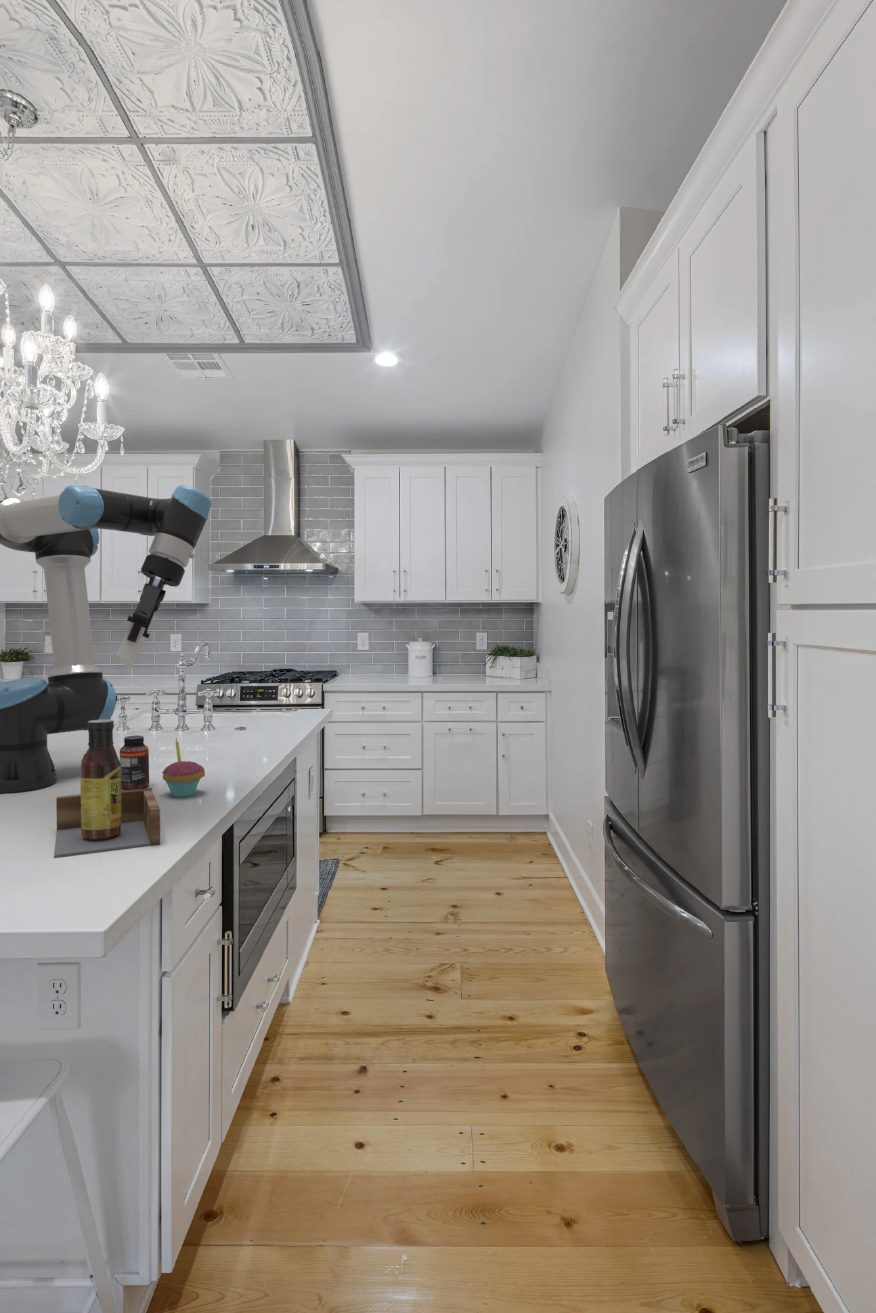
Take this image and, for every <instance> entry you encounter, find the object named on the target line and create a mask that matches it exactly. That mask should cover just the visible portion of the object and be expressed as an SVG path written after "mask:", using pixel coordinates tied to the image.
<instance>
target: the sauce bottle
mask: <svg viewBox="0 0 876 1313" xmlns="http://www.w3.org/2000/svg"><path fill="white" fill-rule="evenodd" d="M114 728H115V724H114V720H113V719H110V720H106V719H103V720H92V721H88V723H87V729H88V730H87V732H88V743H87V745H88V749H86V750H87V751H86V753H84V754H83V757H82V759H81V761H80V762H81V764H80V769H81V770H80V773H81V775H80V794H81V828H82V837H83V838H85V839H87V840H103V839H108V838H112V837H115V836H117V835H118V834H119V833H120V832H121V824H122V818H121V791H122V788H121V764H120V758H119V757H118V754H117V752H116V749H115V747H114V740H113V739H114V734H113V733H114V732H113V730H114Z"/></svg>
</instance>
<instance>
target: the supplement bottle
mask: <svg viewBox="0 0 876 1313" xmlns="http://www.w3.org/2000/svg"><path fill="white" fill-rule="evenodd" d="M144 738H145V737H144V735H139V734H138V735H128V736H125V737H124V739H123V740H124V741H123V743H124V745H123V746H121V748H120V749H119V761H120V764H121V789H123V790H135V789H146V788H147V787H148V786H149V784H150V755H149V752H150V750H149V747H148V746H147V745H146V744H145V743H144V742H145V741H144V740H145V739H144Z"/></svg>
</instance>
